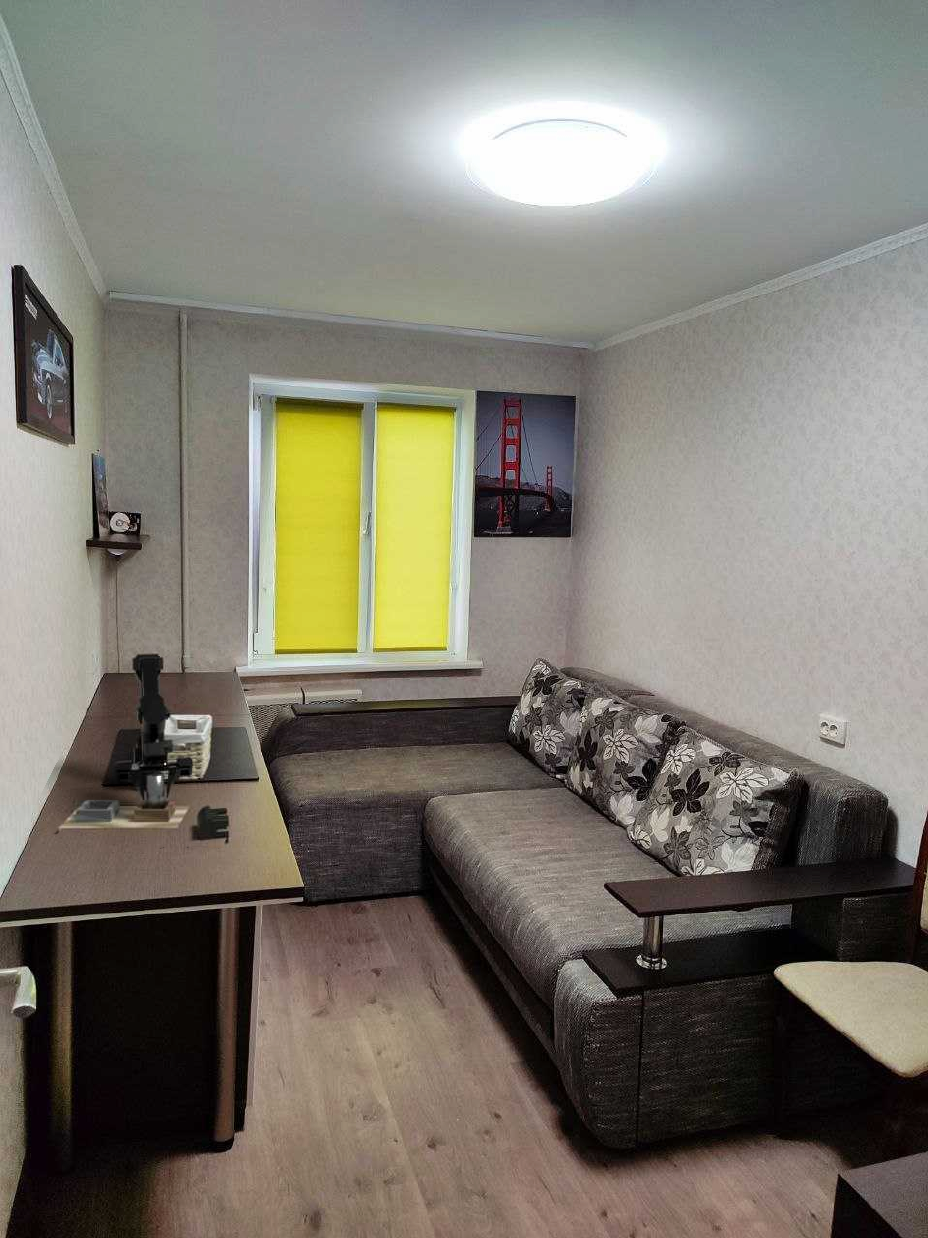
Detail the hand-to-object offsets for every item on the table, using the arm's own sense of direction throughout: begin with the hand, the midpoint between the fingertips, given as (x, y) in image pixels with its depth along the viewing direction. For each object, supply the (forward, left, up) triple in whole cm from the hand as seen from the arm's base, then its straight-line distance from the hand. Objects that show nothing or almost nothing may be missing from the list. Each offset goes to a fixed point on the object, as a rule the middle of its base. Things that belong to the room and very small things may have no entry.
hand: (155, 798), depth 225 cm
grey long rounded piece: (-1, 0, -5) cm, 5 cm away
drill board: (-1, -7, -7) cm, 10 cm away
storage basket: (-48, -3, -7) cm, 49 cm away
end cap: (+10, +16, -7) cm, 20 cm away
